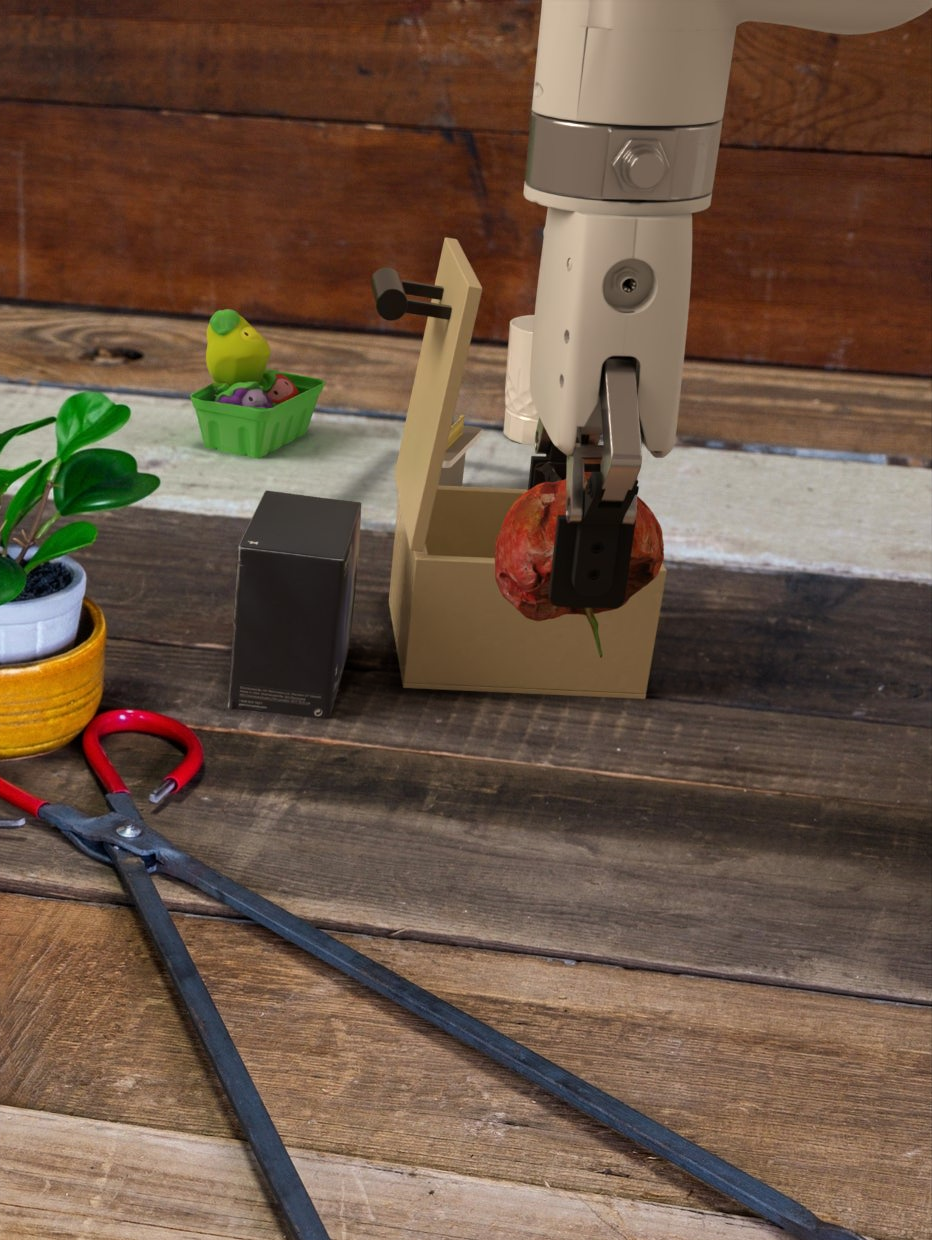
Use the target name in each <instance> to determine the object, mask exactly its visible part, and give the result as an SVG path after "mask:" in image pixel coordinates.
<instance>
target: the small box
mask: <svg viewBox="0 0 932 1240" xmlns="http://www.w3.org/2000/svg"><path fill="white" fill-rule="evenodd" d="M361 521H362V502H360V501H354V500H353V501H352V500H347V499H346V500H345V499H336V498H335V499H334V498H327V497H319V496H313V495H304V494H296V493H291V492H290V493H289V492H282V491H276V490H275V491H273V490H265V491H264V493H263V495H262V496H261V498H260V501H259V502H258V505H257V506H256V508H255V510H254V513H253V515H252V516H251V519H250V521H249V523H248V525H247V527H246V529H245V532H244V534H243V535H242V538H241V539H240V542H239V544H238V547H237V553H236V566H235V587H234V601H233V602H234V604H233V618H232V627H233V628H232V639H231V642H232V643H231V654H230V667H229V678H228V688H227V701H226V707H227V708H228V709H229V710H241V711H252V712H253V711H254V712H259V713H268V714H279V715H288V716H296V717H305V718H313V719H324V720H326V719H330V717H331V715H332V712H333V709H334V705H335V702H336V698H337V695H338V691H339V688H340V684H341V680H342V677H343V673H344V669H345V666H346V662H347V659H348V655H349V651H350V650H349V649H350V643H351V635H352V626H353V618H354V617H353V616H354V607H355V598H356V597H355V596H356V589H357V588H356V586H357V578H358V577H357V576H358V565H359V552H360V540H361Z"/></svg>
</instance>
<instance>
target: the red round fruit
mask: <svg viewBox="0 0 932 1240" xmlns="http://www.w3.org/2000/svg"><path fill="white" fill-rule="evenodd" d="M536 470H538V471H539V472H543V473H544V475H545V481H546V482H544V483H541V484H538V485H536V486H535V487H533V488H532V489H530V490H528V491H527V492H525V493H524V494H522V495H521V496H520V497H519V498H518V499H517V500H516V501H515V502H514V504H513V505H512V507H511V508H510V510H509V511H508V513H507V514H506V517H505V519H504V522H503V525H502V527H501V530H500V532H499V534H498V536H497V538H496V541H495V579H496V582H497V585H498V587H499V590H500V592H501V594H502V596H503V597H504V598H505V599H506V600H507V601H508V602H510V603H511V604H512V605H513V606H514V607H515V608H516V609H517V610H518V611H520V612H521V613H522V614H523V615H524V616H525V617H526V618H528V619H530V620H534V621H543V620H548V619H554V618H557V617H560V616H562V615H565V614H574V615H575V614H579V615H586V617H587V619H588V621H589V623H590V625H591V628H592V631H593V635H594V638H595V642H596V645H597V648H598V652H599V655H600V657H602V655H603V654H602V650H601V646H600V640H599V634H598V622H597V620H596V618H595V616H594V614H598V613H601V612H605V611H610V610H614V609H618V608H620V607H618V608H583V607H557V606H554V605H553V604H552V603H551V601H550V598H549V594H548V593H549V585H550V576H551V567H552V559H553V550H554V541H555V533H556V524H557V515H566V479H565V480H562V479H561V478H560V477H559V476H558V475H557V473H556V470H555V465H554V462H547V463H546V464H545V465H543V466H542V467H539V468H536ZM591 473H592V472H584V489H585V487H586V484H587V479H589V478H590V476H591ZM664 543H665V542H664V537H663V529H662V526H661V524H660V522H659V520H658V519H657V516H656V515H655V513H654V512H653V511H652V510H651V508H650V507H649V506H648V504H646V502H645V501H644V500H643V499H642V498H641V497H639V496H638V495H637V514H636V523H635V530H634V538H633V545H632V552H631V559H630V567H629V574H628V581H627V588H626V596H625V601H624V603H623V605H624V604H626V603H627V601H628V600H629V598H630V597H631V596H633V595H634V594H635V593H637V592H638V591H640V590H641V589H642V588H643V587H645V586H647V585H648V584H649V583H650V582H651V581H652V580H653V579H655V578H656V576H657V575H658V573H659V571H660V568H661V565H662V563H663V564H664V561H665V544H664ZM623 605H622V606H623ZM622 606H621V607H622Z"/></svg>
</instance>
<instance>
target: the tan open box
mask: <svg viewBox="0 0 932 1240" xmlns="http://www.w3.org/2000/svg"><path fill="white" fill-rule="evenodd" d="M527 491H528V488H527V489H526V488H504V487H484V486H483V487H480V486H462V485H461V486H440V485H438V488H437V492H436V497H435V501H434V506H433V510H432V514H431V519H430V523H429V528H428V532H427V536H426V541H425V545H424V550H423V552H419V551H412V550H410V548H409V543H408V538H407V533H406V529H405V524H404V519H403V514H402V510H401V505H400V500H399V495H398V496H397V505H396V507H397V508H396V518H395V528H394V538H393V539H394V540H393V550H392V562H391V573H390V583H389V593H388V594H389V595H388V607H389V612H390V616H391V623H392V630H393V636H394V641H395V648H396V654H397V659H398V665H399V672H400V679H401V685H402V688H404V689H420V690H421V689H422V690H423V689H425V690H442V691H443V690H446V691H464V692H465V691H466V692H467V691H468V692H485V693H486V692H490V693H510V694H531V695H553V696H571V697H572V696H573V697H576V696H577V697H597V698H617V699H641V700H645V699H647V698H646V697H647V691H648V684H649V680H650V673H651V668H652V662H653V657H654V656H653V655H654V650H655V644H656V639H657V631H658V626H659V621H660V614H661V608H662V603H663V597H664V590H665V585H666V579H667V574H668V573H667V571H668V570H667V568H666V566H665V564H664V562H663V563H662V565H661V568H660V571H659V573H658V575H657V576H656V578H655V579H653V580H652V581H651V582H650V583H649V584H648V585H647V586H645V587H643V588H642V589H641V590H640V591H638V592H637V593H635V594H634V595H633V596H631V597H630V598H629V600H628V601H627V603H626V604H624V605H623V606H622V607H620V608H618V609H614V610H610V611H605V612H601V613H598V614H594V616H595V618H596V620H597V622H598V634H599V640H600V646H601V650H602V654H603V655H602V657H600V655H599V652H598V648H597V645H596V642H595V638H594V635H593V631H592V628H591V625H590V623H589V621H588V619H587V617H586V615H579V614H575V615H574V614H565V615H562V616H560V617H557V618H554V619H548V620H543V621H534V620H530V619H528V618H526V617H525V616H524V615H523V614H522V613H521V612H520V611H518V610H517V609H516V608H515V607H514V606H513V605H512V604H511V603H510V602H508V601H507V600H506V599H505V598H504V597H503V596H502V594H501V592H500V590H499V587H498V585H497V582H496V579H495V541H496V538H497V536H498V534H499V532H500V530H501V527H502V525H503V522H504V519H505V517H506V514H507V513H508V511H509V510H510V508H511V507H512V505H513V504H514V502H515V501H516V500H517V499H518V498H519V497H520V496H521V495H522V494H524V493H525V492H527Z"/></svg>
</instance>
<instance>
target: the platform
mask: <svg viewBox="0 0 932 1240" xmlns="http://www.w3.org/2000/svg"><path fill="white" fill-rule="evenodd" d="M465 416H466V414H460V415H459V418H458V419H457V420H456V422H454V423H452V426H451V430H450V435H449V439H448V444H447V448H446V452H445V457H444V461H443V466H442V470H441V475H440V479H439V483H438V485H440V486H462V485H463V482H464V473H465V463H466V456H467V455H466V454H467V451H468V450H470V448H471V447H472V446H473V445H475V444H476V442H477V441H478V440H479V439H480V438H481V437H482V436H483V428H482V427H480V426H474V425H468V424H464V423H465Z"/></svg>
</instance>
